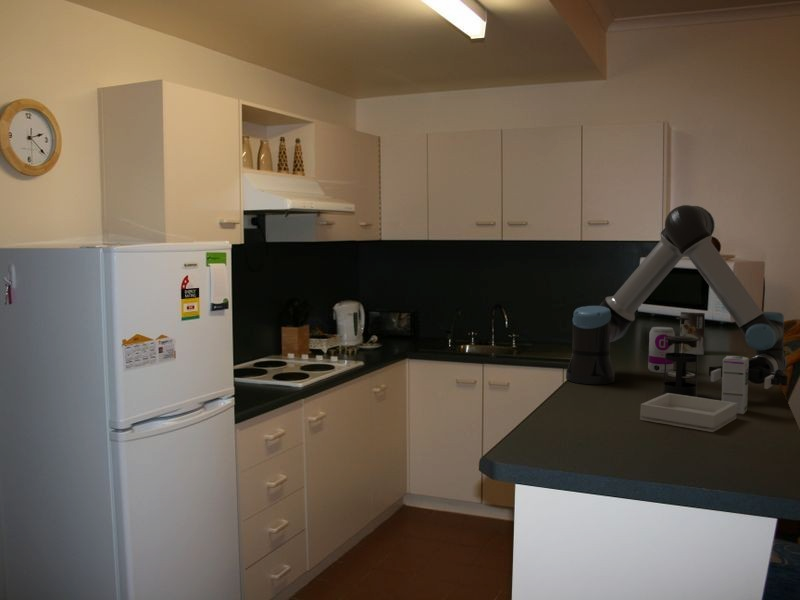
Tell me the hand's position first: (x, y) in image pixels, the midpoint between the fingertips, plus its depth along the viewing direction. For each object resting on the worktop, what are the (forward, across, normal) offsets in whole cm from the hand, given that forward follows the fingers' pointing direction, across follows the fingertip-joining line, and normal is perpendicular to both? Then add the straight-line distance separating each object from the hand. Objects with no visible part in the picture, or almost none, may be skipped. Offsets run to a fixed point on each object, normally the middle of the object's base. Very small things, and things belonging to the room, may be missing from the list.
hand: (738, 380), depth 200 cm
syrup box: (+1, +1, -8) cm, 9 cm away
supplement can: (-44, +37, -9) cm, 58 cm away
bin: (+18, +7, -8) cm, 21 cm away
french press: (-9, +18, -9) cm, 22 cm away
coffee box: (-91, +43, -9) cm, 101 cm away
